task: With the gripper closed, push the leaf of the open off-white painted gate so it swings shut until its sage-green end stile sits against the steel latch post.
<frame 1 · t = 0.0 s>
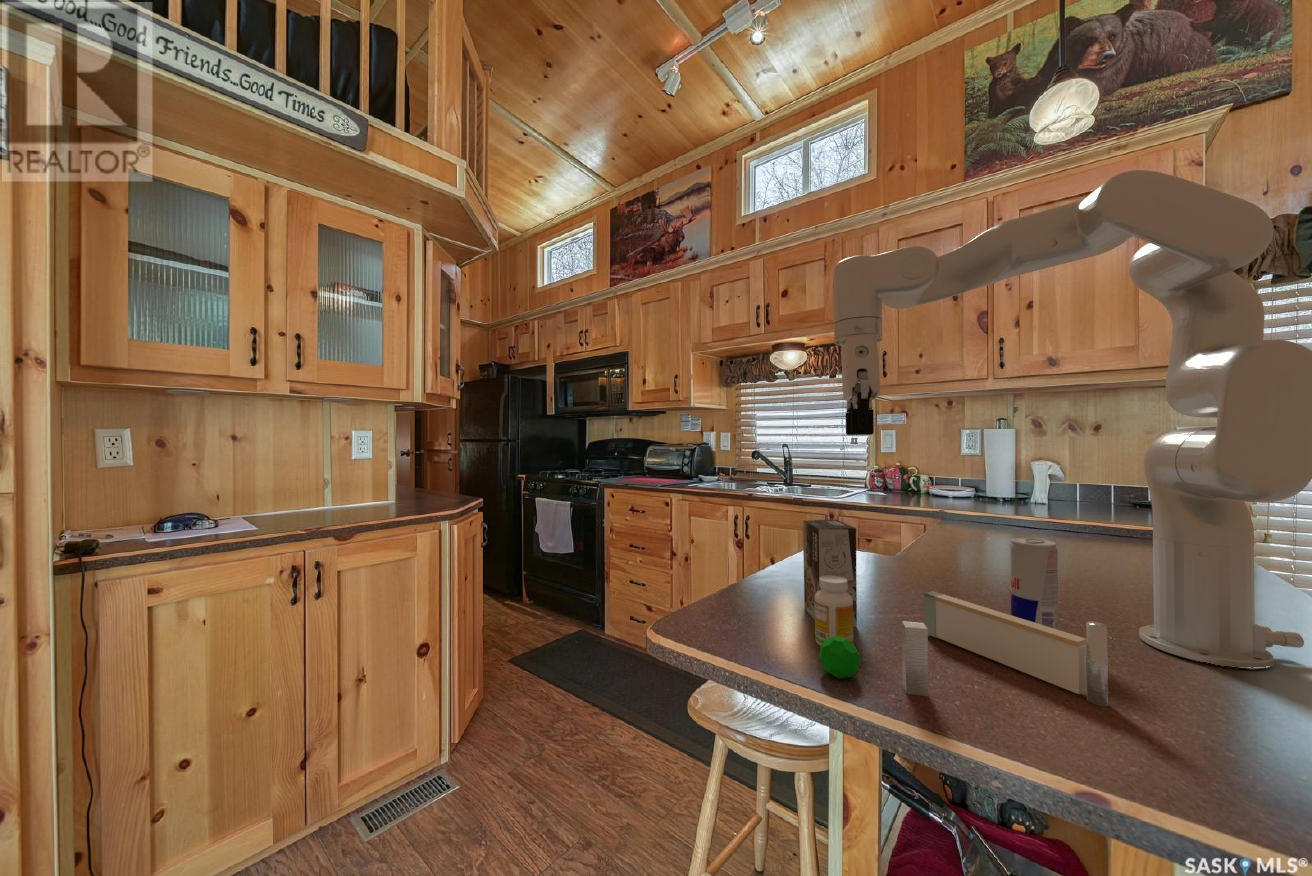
hand: (858, 434, 81), 31 cm above the countertop, tool pointing down, fingers open, 9 cm apart
coffee box: (829, 618, 83), on the countertop
gate: (994, 635, 66), point 3 cm above the countertop, hinge at 50.0°
polyhedron: (839, 677, 63), on the countertop
supplement bottle: (834, 644, 72), on the countertop
beverage can: (1034, 641, 73), on the countertop
gate frame: (1097, 702, 56), on the countertop
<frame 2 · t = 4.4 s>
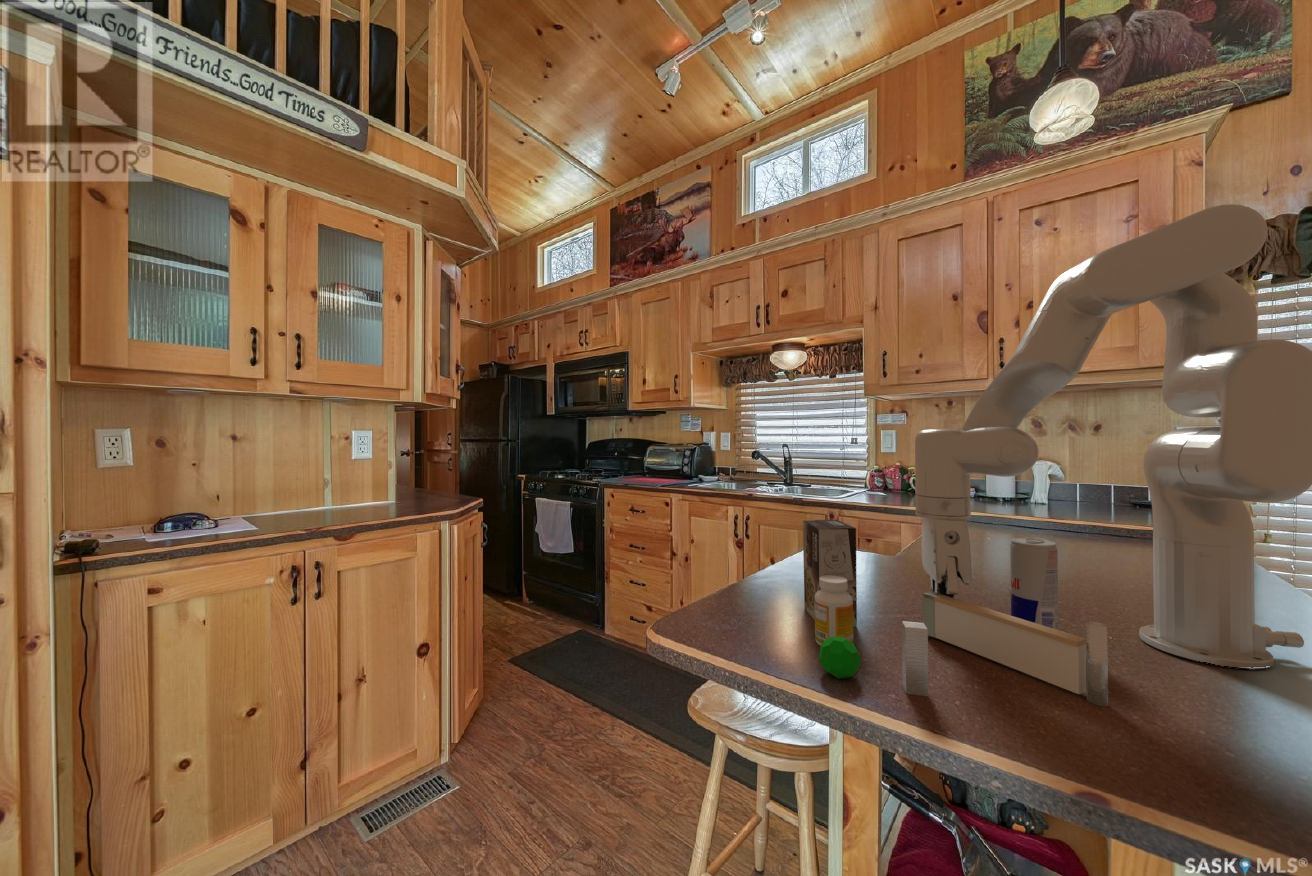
hand: (943, 622, 76), 1 cm above the countertop, tool pointing down, fingers closed
gate: (994, 635, 66), point 3 cm above the countertop, hinge at 49.2°, touching gripper
everything else where it was.
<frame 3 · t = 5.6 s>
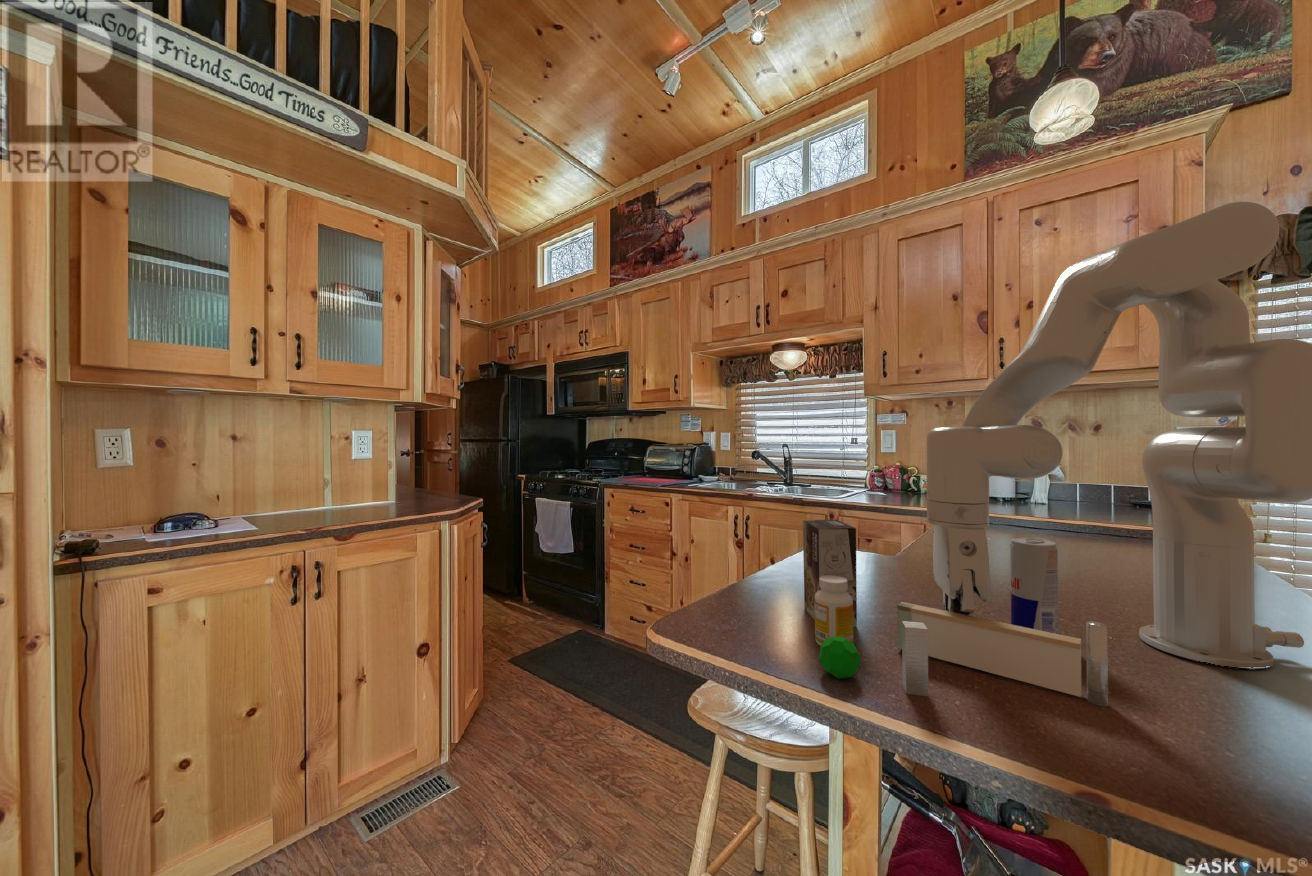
hand: (957, 642, 69), 2 cm above the countertop, tool pointing down, fingers closed
gate: (980, 644, 63), point 3 cm above the countertop, hinge at 26.6°
everything else where it was.
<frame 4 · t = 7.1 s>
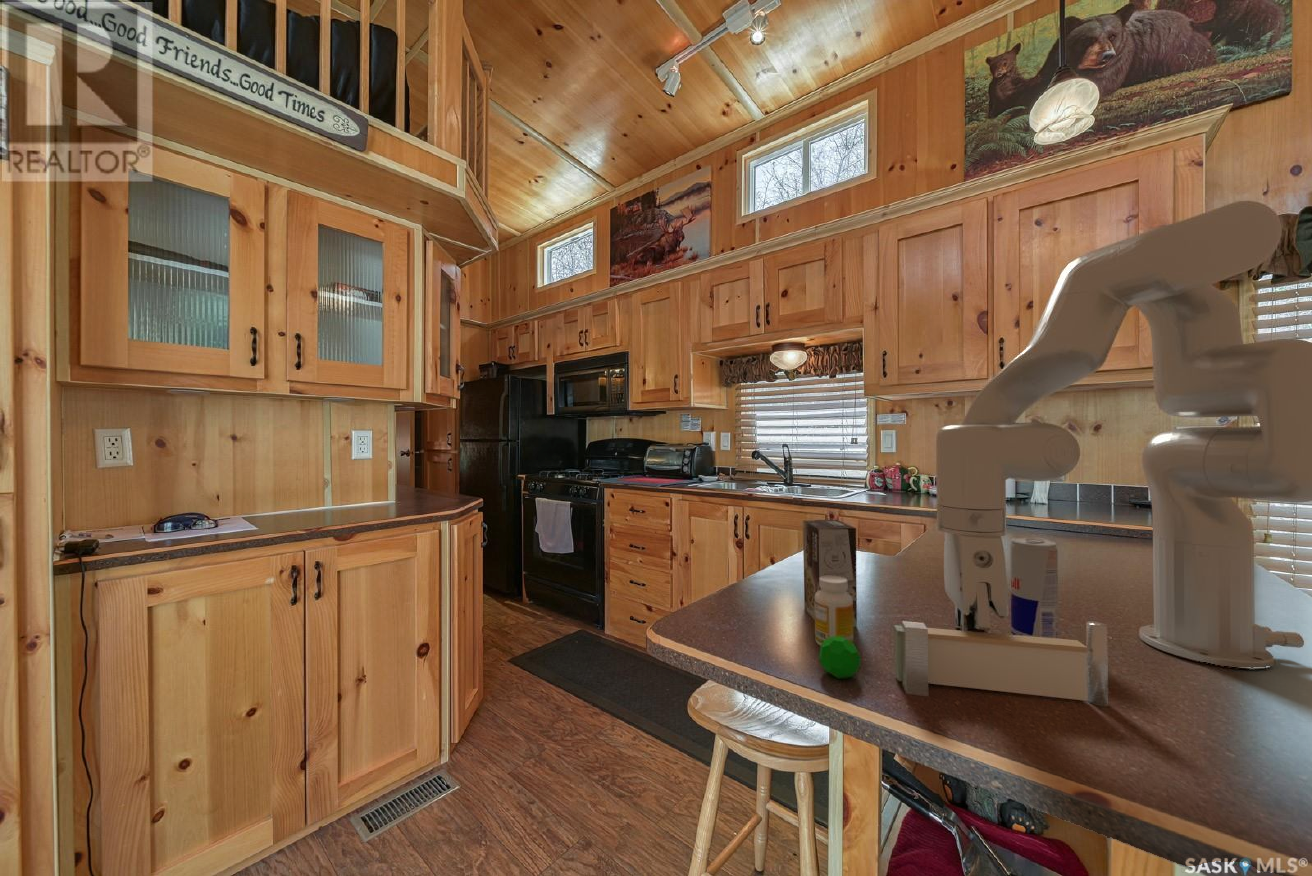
hand: (971, 661, 62), 2 cm above the countertop, tool pointing down, fingers closed
gate: (985, 661, 59), point 4 cm above the countertop, hinge at -1.2°, touching gripper
everything else where it was.
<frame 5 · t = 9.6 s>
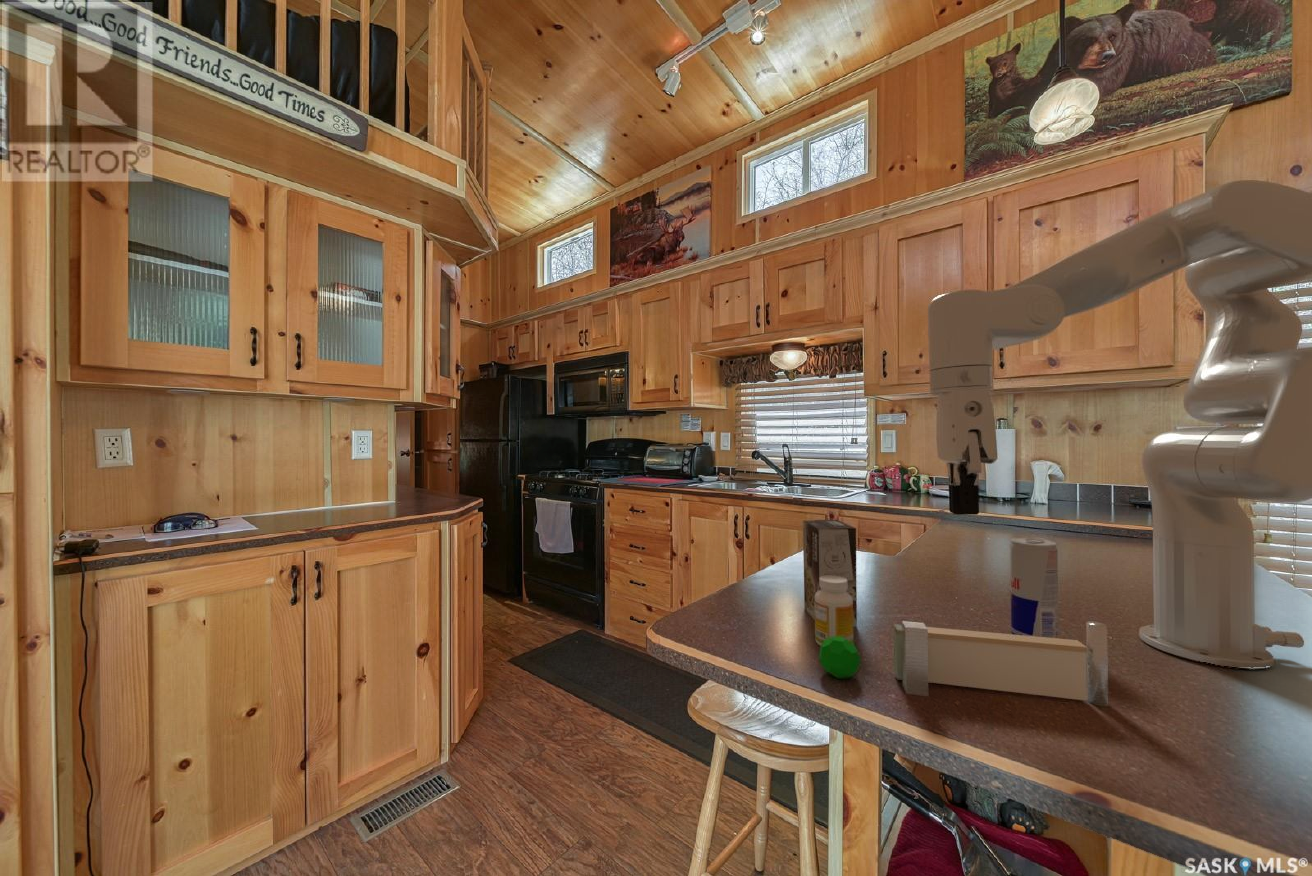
hand: (963, 513, 67), 20 cm above the countertop, tool pointing down, fingers closed
gate: (984, 660, 59), point 3 cm above the countertop, hinge at -0.2°
everything else where it was.
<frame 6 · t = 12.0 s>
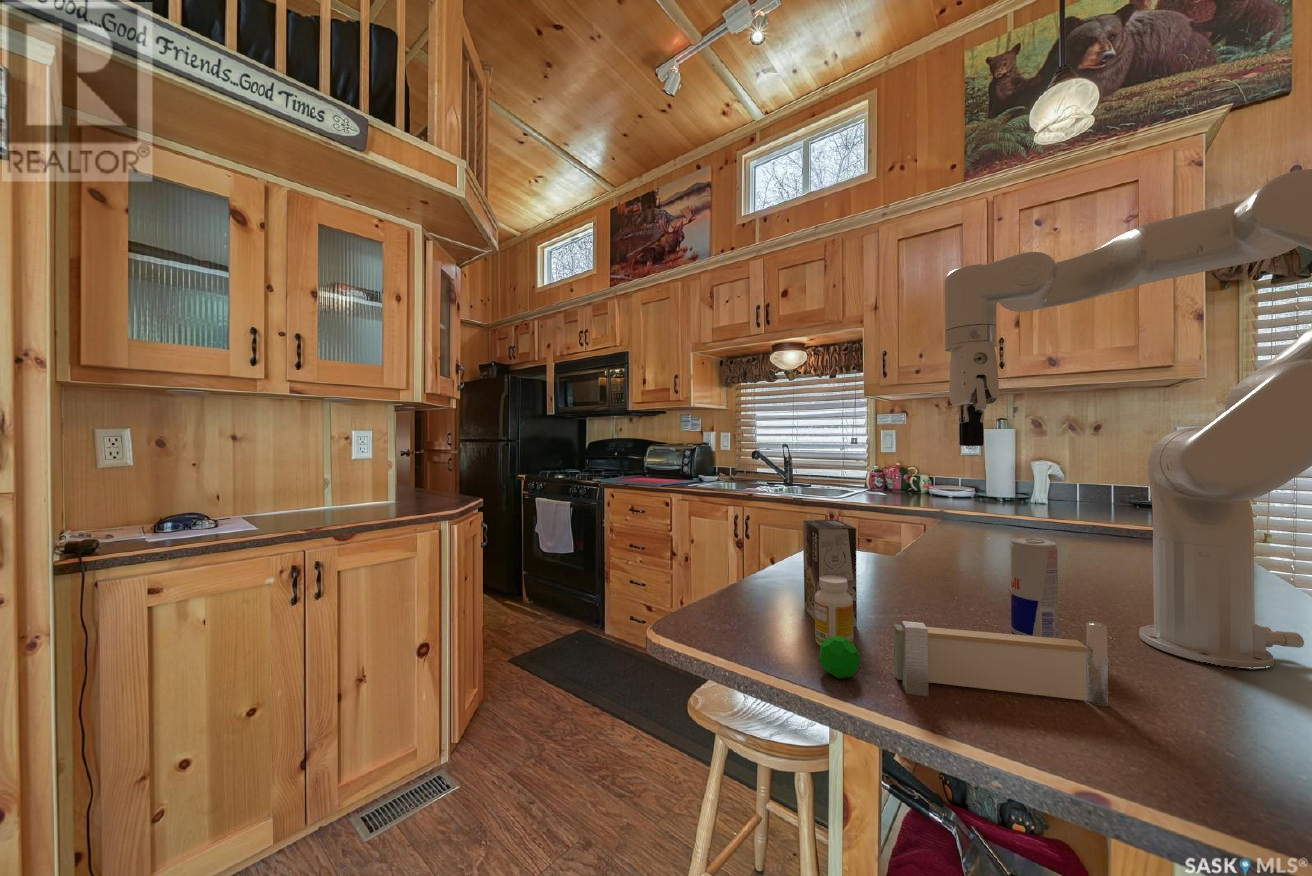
hand: (971, 445, 84), 29 cm above the countertop, tool pointing down, fingers closed
nothing on the countertop moved.
at the end: gate at +0° (first picture: +50°); beverage can moved 0.2 cm from its start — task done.
